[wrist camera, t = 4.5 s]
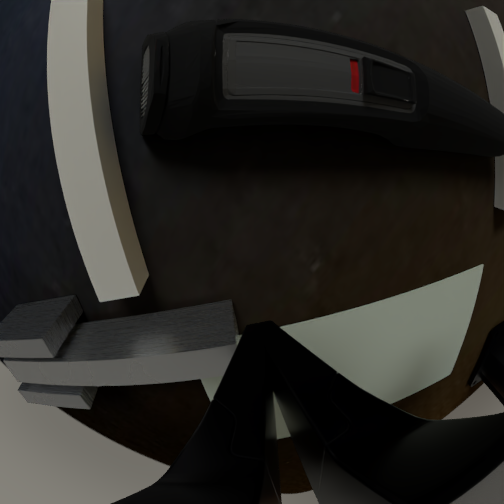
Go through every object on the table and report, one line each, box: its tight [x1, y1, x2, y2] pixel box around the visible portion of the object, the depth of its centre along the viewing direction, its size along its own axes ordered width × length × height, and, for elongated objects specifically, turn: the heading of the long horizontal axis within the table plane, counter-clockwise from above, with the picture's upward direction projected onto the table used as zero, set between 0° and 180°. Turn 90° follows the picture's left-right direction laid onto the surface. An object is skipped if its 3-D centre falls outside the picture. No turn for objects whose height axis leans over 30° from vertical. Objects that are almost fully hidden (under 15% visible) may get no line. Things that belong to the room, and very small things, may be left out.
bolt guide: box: [0, 295, 99, 409], centre depth 9 cm, size 4×4×3 cm
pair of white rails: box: [47, 0, 504, 302], centre depth 7 cm, size 11×20×2 cm, turn 99°
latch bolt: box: [3, 299, 239, 386], centre depth 9 cm, size 1×10×2 cm, turn 100°
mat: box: [201, 264, 484, 439], centre depth 13 cm, size 9×16×1 cm, turn 99°
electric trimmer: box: [140, 19, 504, 157], centre depth 7 cm, size 4×16×3 cm, turn 90°
